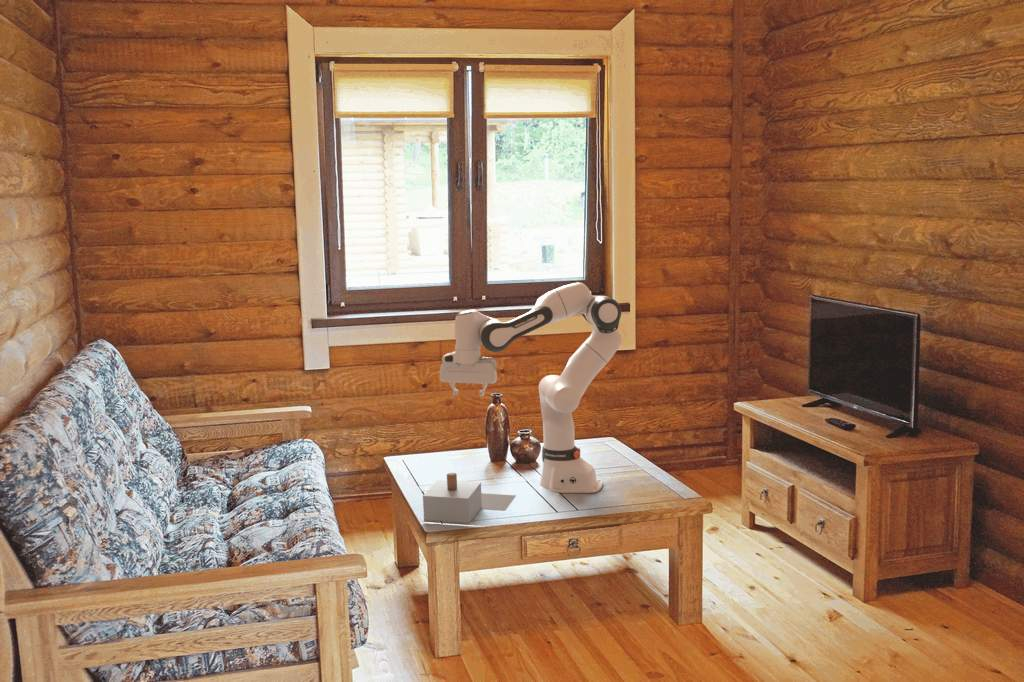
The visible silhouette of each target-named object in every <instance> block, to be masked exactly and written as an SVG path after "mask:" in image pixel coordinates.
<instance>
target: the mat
mask: <svg viewBox="0 0 1024 682" xmlns="http://www.w3.org/2000/svg"><path fill="white" fill-rule="evenodd" d="M516 497H517V495H516V494H500V493H498V494H497V493H486V492H485V493H484V492H483V493H482V492H481V499H482V508H481V509H480V510H489V511H503V512H505V511H507V509H508V508H509V507H510V505H511V503H512V502H513V500H514V499H515V498H516Z"/></svg>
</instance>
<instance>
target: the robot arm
mask: <svg viewBox="0 0 1024 682" xmlns="http://www.w3.org/2000/svg"><path fill="white" fill-rule="evenodd" d="M579 314H581V316H583V318H584V320H585V321H586V322H588V323H589V324H591V325H592V330H591V333H590V334H589V337H587V338H586V339H585V341H584V342H583V343H581V345H580V346H579V347H578V348H577V349H576V350H575V352H574V353H573V354H572V355H571V356H570V357H569V358H568V361H567V364H566V366H565V367H564V369H563V370H562V372H561V374H560V375H559V374H549V375H545V376H543V378H541V380H540V381H539V384H538V394H539V403H540V411H541V417H542V418H541V419H542V428H543V429H542V431H543V436H542V437H543V442H542V443H543V446H542V449H541V459H542V471H541V477H540V480H539V486H540V487H542V488H543V489H547V490H549V491H550V492H555V493H558V494H562V493H563V494H566V493H567V494H570V493H571V494H574V493H575V494H577V493H579V494H584V493H585V494H587V493H588V494H589V493H591V494H592V493H597V492H598V491H600V490H601V489H602V488H603V481H602V480H601V479H600V478H597V473H596V470H595V467H594V466H593V465H592V464H591V463H589V462H587V461H586V460H585V459H584V458H582V457H581V447H577V446H576V445H575V422H574V418H573V415H572V414H573V412H574V411H576V409H578V408H579V405H580V401H581V399H582V397H583V395H585V392H587V389H588V387H589V386H590V384H591V383H592V381H593V380H594V379H595V377H596V376H597V375H598V374H599V373H600V372H601V371H602V369H603V368H604V367H605V366H606V365H607V364H608V363H609V362H610V361H611V359H612V358H613V357H614V355H615V354H616V352H618V351H617V350H618V349H619V347H620V346H621V345H622V341H623V339H622V336H621V334H620V332H619V331H618V328H619V324H620V321H621V317H622V308H621V305H620V304H619V302H618V301H617V300H616V299H614V298H612V297H609V296H607V295H597V294H595V295H594V294H592V293H591V290H590V289H589V287H588V286H587V284H585V283H583V282H580V281H579V282H577V281H576V282H573V283H569V284H566V285H565V284H564V285H562V286H559V287H557V288H554V289H552V290H549V291H547V292H546V293H544V294H543V295H541V296H539V297H538V298H537V300H536V302H535V304H534V305H533V307H532V308H531V309H530V310H529V311H528V312H526V313H524V314H522V315H519V316H518V317H515V318H513V319H511V320H508V321H506V322H504V321H503V322H502V321H501V320H500V319H498V318H496V317H490V316H488V315H486V314H483V313H481V312H480V311H478V309H475V308H474V309H466V310H462V311H459V312H458V313H457V314H456V316H455V320H454V338H455V345H454V346H455V347H454V350H453V351H451V352H448V353H446V354H444V355H443V356H442V357H441V361H442V363H441V364H440V367H439V380H440V382H441V383H449V387H450V388H451V390H452V395H453V396H458V395H459V394H460V392H459V389H458V388H456V386H455V385H456V383H457V384H458V383H459V384H460V383H461V384H481V387H482V389H480V390H479V391H478V396H479V397H484V396H485V390H486V388H487V387H488V384H490V385H493V384H495V383H496V382H497V381H498V374H497V373H498V371H497V367H498V362H497V361H498V360H496V358H494V357H492V356H487V357H486V356H481V346H483V347H484V348H485V349H486V350H487V351H489V352H491V353H492V352H493V353H499V352H502V351H504V350H506V349H507V348H508V347H509V346H510V345H511V344H512V343H513V342H514V341H515V340H516V339H518V338H520V337H522V336H525V335H527V334H529V333H531V332H533V331H535V330H537V329H540V328H542V327H545V326H548V325H551V324H552V325H553V324H554V323H558V322H561V321H563V320H565V319H568V318H571V317H572V316H575V315H579Z"/></svg>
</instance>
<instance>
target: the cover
mask: <svg viewBox="0 0 1024 682" xmlns="http://www.w3.org/2000/svg"><path fill="white" fill-rule="evenodd" d="M457 475H458V474H457V473H456V472H449V473H447V474H446V479H437V480H436V481H434V483H433V484H432V485H431V486H430V487H429V489H427V491H425V493H423V495H422V506H423V507H422V508H423V520H424V521H431V522H443V523H442V524H445V523H446V524H447V523H453V524H455V525H457V524H458V525H461V524H470V523H471V521H472V520H473V519H474V518H475V516H476V515H477V514H478V513H479V512H480V511H481V510H482V509H481V508H482V499H481V493H482V482H479V481H478V482H477V481H461V480H458V479H457V478H458V476H457Z"/></svg>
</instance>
